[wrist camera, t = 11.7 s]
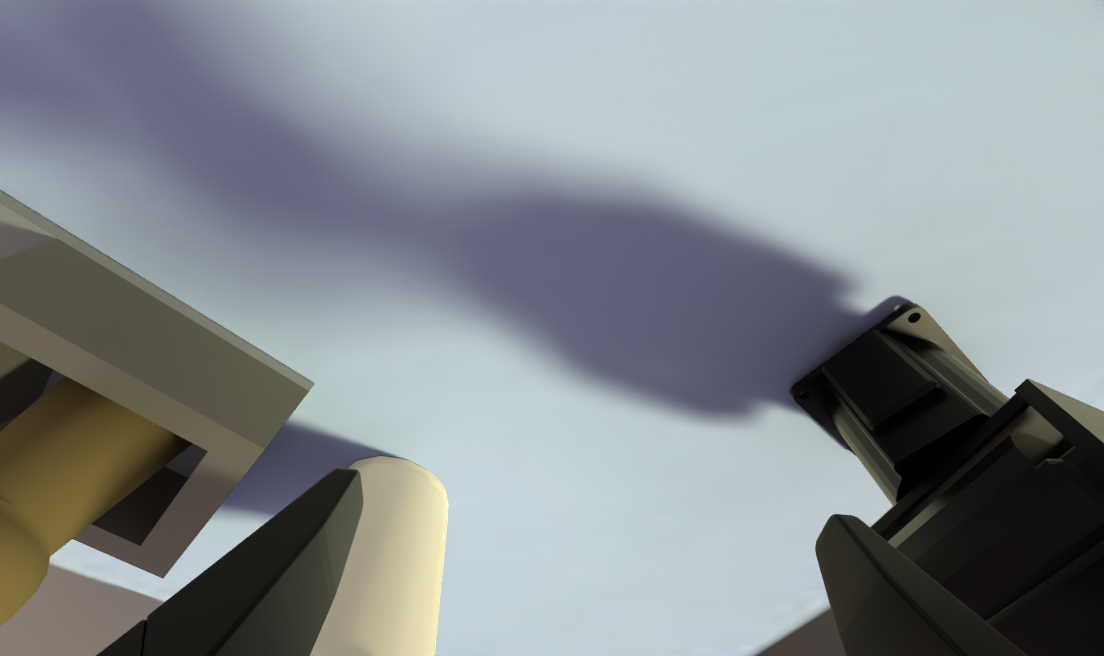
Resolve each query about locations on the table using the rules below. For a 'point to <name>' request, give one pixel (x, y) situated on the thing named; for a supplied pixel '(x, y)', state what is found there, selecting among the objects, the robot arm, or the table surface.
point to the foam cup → (391, 566)
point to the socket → (136, 379)
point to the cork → (67, 477)
